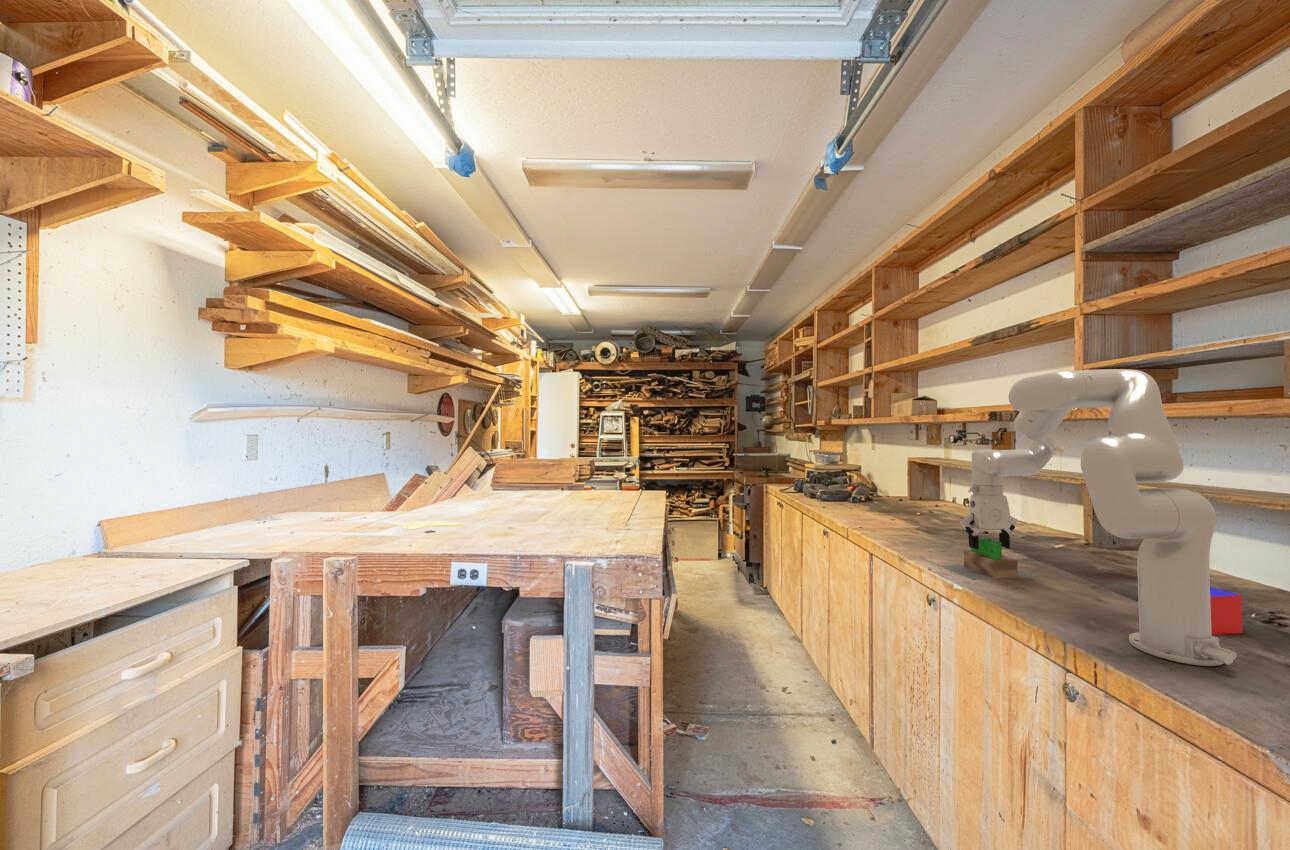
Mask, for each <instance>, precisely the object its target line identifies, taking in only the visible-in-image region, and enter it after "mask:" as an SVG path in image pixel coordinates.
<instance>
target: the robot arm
mask: <svg viewBox="0 0 1290 850" xmlns="http://www.w3.org/2000/svg"><path fill="white" fill-rule="evenodd" d="M1009 390H1010V391H1008V392H1009V393H1008V402H1009V404H1010V406H1011V407H1012V409H1014V410H1015V411H1018V412H1019V413H1018V414H1017V415H1016V417H1015V419H1014V421H1013V425H1014V426H1013V427H1014V428H1015V430H1016V431H1017V432H1018V433H1019V434H1021V435H1022V436H1024V437H1025V438H1026V439H1028V440H1031V442H1030V444H1029V445H1027V447H1026V448H1025V449H999V450H998V449H975V450H973V451H972V452H971V474H972V475H971V477H972V478H971V479H972V487H970V488H969V491H970V492H971V493H972V494H971V495H970V499H969V504H968V505H969V508H968V515H967V516H965V517H964V518H961V520H959V524H960V525H961V527H962V529H963V531H965V533H966V534H967V535H968V546H969V548H970V549H971V548H973V549H979V538H980V537H979V535H978V534H979V532H980V531H981V530H983V531H993V530H994V531H996V530H997V531H998V530H999V531H1000V532H999V533H998V535H999V536H998V538H999V541H998V542H1001V546H1002V548H1005V549H1010V548H1011V542H1010V541H1011V535H1012V534H1013V531H1014V530H1015V529H1016V525H1017V523H1018V519H1017V518H1015V517H1013V516H1011V511H1010V507H1009V502H1008V498H1007V495H1005V494H1004V477H1022V476H1023V477H1029V476H1034V475H1036V474H1037V473H1039V472H1041V471H1042V470H1043V468H1044V467H1045V466H1046V465H1047V464H1048V463H1049V462H1050V461H1051V459H1052V458H1053V456H1054V452H1055V451H1054V450H1055V440H1054V438H1053V436H1052V434H1053V433H1054V432H1055V431H1056V429H1057V428H1058V427H1059V426H1060V424H1061V423H1062V422H1063V420H1064V419H1065V418H1066V417H1067V416H1068V414H1070V412H1071V410H1072V409H1090V408H1093V409H1094V408H1111V409H1110V410H1109V414H1108V425H1109V426H1108V427H1109V429H1110V431H1111V434H1112V435H1111V436H1100V437H1097V438H1094V439H1092V440H1090V441H1089V442H1088V443H1087V444H1086V445H1084V447H1083V449H1082V451H1081V455H1080V468H1081V472H1082V476H1083V480H1084V483H1085V485H1086V489H1087V491H1088V494H1089V498H1090V501H1091V504H1092V508H1093V511H1094V514H1095V516H1096V518H1097V521H1098V522H1099V524H1100V525H1101V527H1102V528H1103V529H1104V530H1105V531H1106V532H1107V533H1109V534H1110V535H1112V536H1115V537H1117V538H1121V539H1125V540H1127V539H1131V540H1136V539H1138V540H1139V539H1142V542H1141V544H1140V545H1139V548H1138V552H1137V557H1136V558H1137V559H1136V560H1137V562H1136V563H1137V595H1138V597H1137V598H1138V599H1137V600H1138V622H1139V623H1138V624H1139V625H1138V627H1139V629H1138V630H1139V632H1138V631H1137V632H1132V633H1130V634H1128V642H1129V643H1130V645H1131V646H1133V647H1134V648H1136V649H1138V650H1139V651H1142V652H1144V653H1146V654H1149V655H1151V656H1154V657H1157V658H1161V659H1165V660H1168V661H1173V662H1177V663H1180V664H1186V665H1193V666H1203V667H1216V666H1217V667H1218V666H1221V665H1224V664H1225V665H1230V666H1231V665H1232V664H1233V663H1234V661H1235V659H1236V658H1237V653H1236V652H1235V651H1233V650H1230V649H1227V648H1224V647H1221V646H1220V637H1217V636H1215V635H1212V634H1211V605H1210V587H1211V582H1210V581H1211V580H1210V576H1211V575H1210V574H1211V573H1210V572H1211V571H1210V555H1211V553H1210V552H1211V547H1212V545H1211V544H1212V539H1213V537H1214V533H1215V529H1216V524H1217V523H1216V522H1217V516H1216V514H1217V513H1216V511H1215V508H1214V506H1213V505H1212V503H1211V502H1210V501H1209V500H1208V499H1207V498H1206V497H1205V496H1203V495H1202V494H1200V493H1198V492H1194V491H1191V490H1188V489H1183V488H1176V487H1175V488H1173V487H1166V488H1165V487H1163V488H1162V487H1159V488H1157V487H1155V488H1139V485H1138V484H1140V483H1142V484H1143V483H1144V484H1145V483H1162V482H1168V481H1171V480H1174V479H1177V477H1179V476H1181V474H1182V473H1183V471H1184V460H1183V456H1182V453H1181V451H1180V449H1179V446H1178V444H1177V441H1176V438H1175V435H1174V432H1173V431H1172V428H1171V425H1170V422H1169V420H1168V417H1167V415H1166V413H1165V410H1164V406H1163V403H1162V402H1163V401H1162V396H1161V390H1160V388H1159V385H1158V383H1157V381H1156V380H1155V379H1154V378H1153V377H1152V376H1151V375H1150V374H1148V373H1146V372H1144V371H1141V370H1137V369H1126V368H1125V369H1124V368H1120V369H1119V368H1118V369H1117V368H1114V369H1113V368H1109V369H1108V368H1106V369H1086V370H1085V369H1083V370H1081V369H1080V370H1079V369H1077V370H1075V369H1073V370H1059V371H1058V370H1057V371H1053V372H1047V373H1044V374H1039V375H1033V376H1028V377H1027V376H1026V377H1024V378H1022V379H1019V380H1018V381H1016V382H1015V383H1014V384H1013V385H1012V387H1011V388H1010V389H1009Z"/></svg>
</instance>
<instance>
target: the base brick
mask: <svg viewBox="0 0 1290 850" xmlns="http://www.w3.org/2000/svg"><path fill="white" fill-rule="evenodd" d="M963 557H964V558H963V562H964V564H963V565H964V567H966V568H969V569H971V570H974V571H976V572H979V573H982V574H984V575H987V576H989V577H992V578H994V579H993V580H997V579H998V578H1002V579H1019V578H1018V570H1019V568H1018V559H1014V558H1012V557H1008V556H1005V555H1003V554H1002V557H1000V560H994V559H991V558H989V557H986V556H984V555H981V554H978V553H976V552H973V551H971V550H963ZM998 580H999V579H998Z"/></svg>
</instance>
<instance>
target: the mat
mask: <svg viewBox="0 0 1290 850" xmlns="http://www.w3.org/2000/svg"><path fill="white" fill-rule="evenodd" d="M940 567H942V568H944V569H946V570H949V571H950V572H954V573H956V574H958V575H961V576H962V577H966V578H968V579H970V580H973V581H976V580H977V581H978V580H980V581H981V580H995V579H994V578H992V577H989V576H987V575H984V574H982V573H979V572H976V571H974V570H971V569H969V568H966V567H964V564H957V565H956V564H955V565H940ZM1020 578H1021V579H1022V578H1039V576H1038V575H1035V574H1032V573H1030V572H1026V571H1024V570H1022V569H1018V578H1017V579H1020ZM1001 579H1003V578H998V580H1001Z"/></svg>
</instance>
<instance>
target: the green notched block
mask: <svg viewBox="0 0 1290 850" xmlns="http://www.w3.org/2000/svg"><path fill="white" fill-rule="evenodd" d="M1002 548H1003V547H1002V546H1001V542H999V541H995V540H994V541H993V540H992V538H988V537H987V538H986V537H985V538H982V537H979V549H973V548H970V551H973V552H976V553H978V554H981V555H984V556H986V557H989V558H991V559H994V560H1000V557H1002V555H1003V550H1002Z"/></svg>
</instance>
